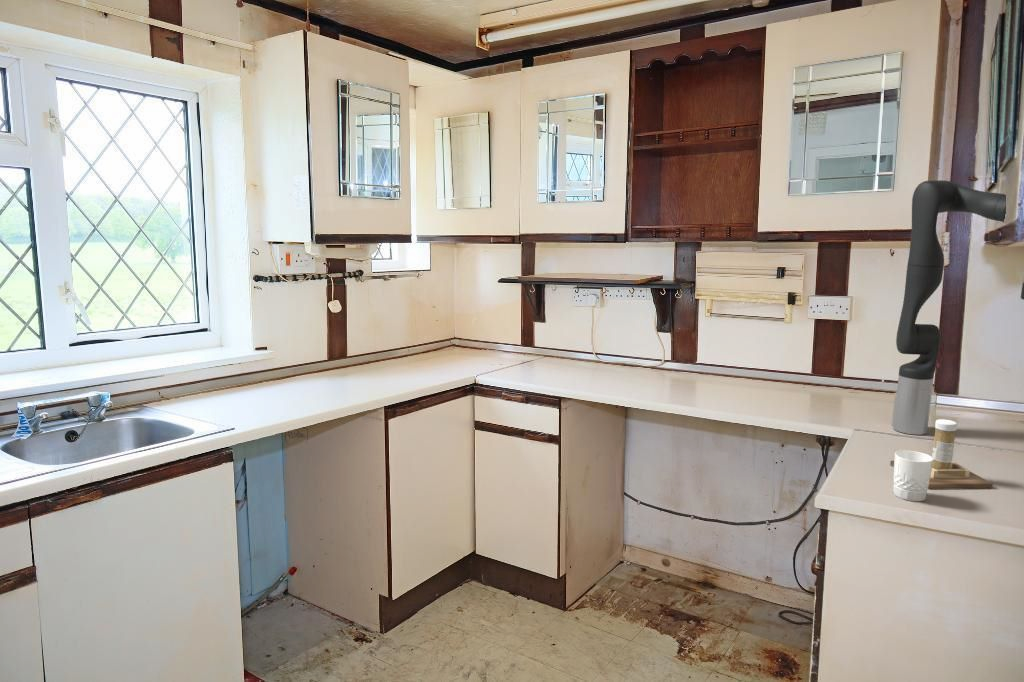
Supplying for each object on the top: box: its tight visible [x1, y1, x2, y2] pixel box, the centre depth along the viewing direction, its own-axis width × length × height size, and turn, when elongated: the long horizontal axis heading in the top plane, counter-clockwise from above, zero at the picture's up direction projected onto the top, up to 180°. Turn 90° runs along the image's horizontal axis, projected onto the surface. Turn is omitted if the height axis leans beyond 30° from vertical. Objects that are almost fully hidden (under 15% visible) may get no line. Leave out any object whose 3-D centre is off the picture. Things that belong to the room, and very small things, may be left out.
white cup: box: [892, 449, 933, 502], centre depth 162 cm, size 8×8×10 cm
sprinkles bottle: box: [931, 418, 958, 469], centre depth 173 cm, size 5×5×14 cm
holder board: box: [889, 460, 993, 490], centre depth 175 cm, size 16×16×3 cm
